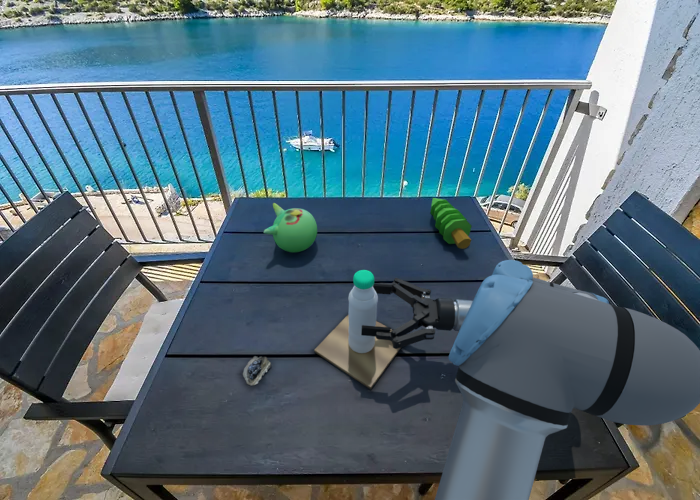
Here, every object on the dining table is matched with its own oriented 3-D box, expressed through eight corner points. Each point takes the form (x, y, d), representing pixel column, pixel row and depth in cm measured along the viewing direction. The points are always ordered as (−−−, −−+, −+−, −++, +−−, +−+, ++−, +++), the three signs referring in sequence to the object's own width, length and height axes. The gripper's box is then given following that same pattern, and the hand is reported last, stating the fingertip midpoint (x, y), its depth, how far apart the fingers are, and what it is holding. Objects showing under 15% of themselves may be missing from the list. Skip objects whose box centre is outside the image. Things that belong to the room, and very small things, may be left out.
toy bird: (316, 261, 122) (313, 226, 112) (267, 260, 122) (261, 226, 113) (319, 231, 136) (317, 198, 127) (276, 230, 136) (271, 198, 127)
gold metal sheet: (370, 389, 84) (370, 387, 84) (314, 352, 93) (314, 349, 92) (406, 340, 96) (407, 337, 95) (353, 310, 104) (353, 308, 103)
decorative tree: (462, 227, 116) (428, 183, 138) (443, 253, 123) (414, 206, 145) (487, 234, 121) (451, 189, 143) (468, 258, 127) (436, 212, 149)
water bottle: (356, 358, 90) (358, 290, 74) (343, 339, 95) (342, 271, 79) (379, 347, 93) (385, 279, 77) (366, 328, 97) (369, 261, 82)
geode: (274, 359, 91) (273, 354, 90) (265, 387, 85) (264, 383, 84) (249, 356, 92) (247, 352, 90) (238, 384, 85) (236, 380, 84)
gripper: (456, 370, 75) (359, 361, 77) (444, 288, 95) (366, 283, 96) (464, 349, 71) (359, 340, 72) (449, 268, 90) (367, 262, 92)
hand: (363, 307), depth 84 cm, fingers open, 13 cm apart
